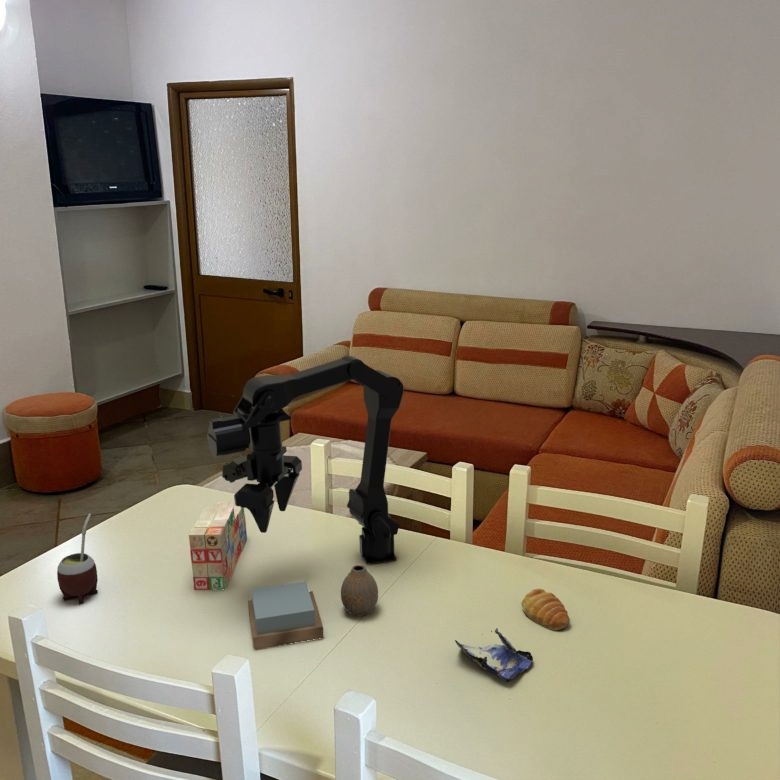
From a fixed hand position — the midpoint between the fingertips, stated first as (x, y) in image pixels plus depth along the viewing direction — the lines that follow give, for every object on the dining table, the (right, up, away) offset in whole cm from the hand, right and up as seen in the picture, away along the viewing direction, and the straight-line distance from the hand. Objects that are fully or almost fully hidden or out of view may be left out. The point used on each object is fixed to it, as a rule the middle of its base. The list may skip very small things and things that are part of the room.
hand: (273, 521), depth 147 cm
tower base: (+4, -18, -9) cm, 20 cm away
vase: (+17, -16, -5) cm, 24 cm away
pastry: (+51, -16, -8) cm, 54 cm away
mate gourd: (-37, -15, +2) cm, 40 cm away
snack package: (+40, -20, -21) cm, 49 cm away
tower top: (+3, -15, -10) cm, 18 cm away
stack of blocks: (-13, -11, +13) cm, 21 cm away
